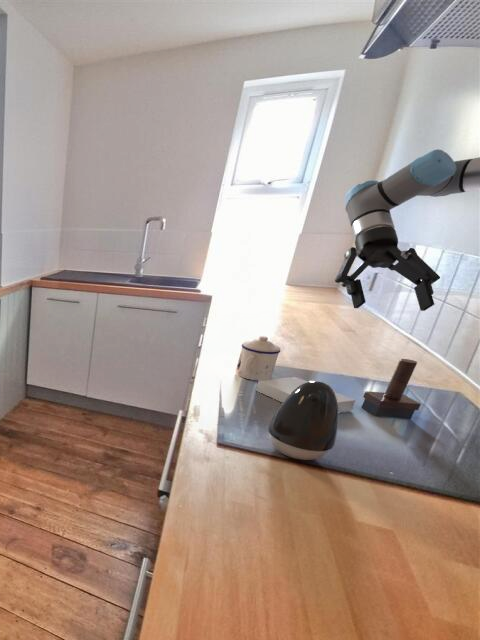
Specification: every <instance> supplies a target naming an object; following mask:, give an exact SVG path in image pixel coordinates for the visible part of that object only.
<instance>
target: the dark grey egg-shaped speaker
mask: <svg viewBox="0 0 480 640" xmlns="http://www.w3.org/2000/svg"><path fill="white" fill-rule="evenodd" d="M334 392H335V391H334V389H333V388H332V387H331V386H330V385H329V384H327V383H326V382H323V381H319V380H309V381H308V382H305V383H303V384H301V385H300V386H298V387H297V388H296V389H295V390H293V391H292V392H291V393H290V394H289V396H288V397H287V398H286V399H285V401H284V402H283V403H280V406H279V407H278V408H277V410H276V412H275V414H273V417H272V419H271V420H270V422H269V425H268V429H267V432H268V436H269V441H270V443H271V445H272V447H273V448H274V449H275V450H276V451H277V452H279V453H280V454H282V455H284V456H286V457H288V458H291V459H295V460H300V461H313V460H317V459H320V458H322V457H324V456H325V455H327V453H328V452H329V451H330V450H332V449H333V448H334V447H335V443H336V441H337V436H338V428H339V413H338V402H337V398H336V395H335V393H334Z"/></svg>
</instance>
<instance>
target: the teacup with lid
mask: <svg viewBox="0 0 480 640" xmlns="http://www.w3.org/2000/svg"><path fill="white" fill-rule="evenodd" d="M268 339H269V338H268V337H267V336H265V335H260V336H259V337H258V338H255V339H252V340H247V341H246V340H245V341H244V342H242V344H241V350H240V354H239V357H238V361H237V365H236V369H235V374H236V375H237V376H238V377H239V378H243V379H245V378H246V380H249V379H250V381H254V380H257V381H256V382H259V381H262V380H269V379H270V380H271V379H272V377H273V373H274V369H275V366H276V363H277V360H278V357H279V354H280V353H281V347H280V346H279V345H277V344H275V343H273V342H272V341H270V340H268Z"/></svg>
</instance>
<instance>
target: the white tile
mask: <svg viewBox="0 0 480 640" xmlns="http://www.w3.org/2000/svg"><path fill="white" fill-rule="evenodd" d="M257 382H258V383H257V386H256V389H255V392H256V391H258V392H257V393H259V392H260V393H259V394H261V393H263V394H265V395H267V396H270V397H272V398H274V399H276V400H279V401H280V402H284V401H285V399H286V398H287V397H288V396H289V394H290V393H291V392H292V391H293V390H295V389H296V388H297V387H298V386H300V385H301V384H303V383H305V382H309V381H308V380H305V379H303V378H300V377H297V376H292V377H282V378H273V379H272V378H271V379H270V380H262V381H257ZM334 393H335V395H336V398H337V402H338V412H344V413H348V412H347V411H351V412H352V410H353V408H354V405H355V404H356V399H353V398H351V397H348V396H346V395H343V394H341V393H338V392H336V391H334ZM263 394H262V395H263ZM265 395H264V396H265ZM267 396H266V397H267ZM274 399H273V400H274ZM276 400H275V401H276ZM280 402H279V403H280Z"/></svg>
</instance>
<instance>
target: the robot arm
mask: <svg viewBox="0 0 480 640" xmlns="http://www.w3.org/2000/svg"><path fill="white" fill-rule="evenodd" d="M476 191H477V192H478V191H480V156H479V157H473V158H467V159H460V160H455V161H454V159H453V158H452V157H451V156H450V155H449V153H447V152H445V151H444V150H443V149H438V148H437V149H433V150H431V151H429V152H427V153H426V154H424V155H422V156H419V157H417V158H415V159H414V160H413V161H411V162H410V163H409V164H407V165H405V166H404V167H402V168H400V169H399V170H397V171H395V172H394V173H393V174H390V175H389V176H387V177H386V178H384V179H382V180H381V181H378V180H366V181H364V182H363V183H358V184H356V185H354V186H353V187H352V188H350V189H349V190H348V191H347V193H346V194H345V196H344V204H345V212H346V213H347V217H348V220H349V224H350V229H351V233H352V237H353V241H354V246H355V247H353V246H352V247H351V246H350V248H349V249H347V250H346V252H344V254H343V258H344V259H343V261H342V265H341V267H340V268H339V271H338V273H337V275H336V277H335V279H334V282H335V283H336V284H340V283H341V284H340V285H341V287H342V288H346V293H347V295H348V296H350V297H351V301H352V306H353V309H360V307H362V306H363V305H364V304H365V303H366V302H367V301H366V297H365V293H364V289H363V286H362V281H361V279H359V278H358V277H359V276H360V275H361V274H362V273H363V272H364V271H365V270H366V269H367V268H368V267H371V269H376V268H381V269H388V270H390V271H395V272H396V273H398V274H400V275H401V277H404V278H405V279H407V281H409V282H411V283H413V284H414V285H415V286H414V287H413V290H414V292H415V296H416V299H417V303H418V306H419V310H420V311H421V312H424V311H427V310H428V309H430V308H431V307H433V306H435V304H436V303H435V301H434V297H433V295H434V289H433V284H434V283H436V282H437V281H439V280H440V279H441V276H440V275H439V274H438V273H437V272H436V271H435V270H434V269H433V268H432V267H431V266H430V265H429V264H427V262H426V261H424V260H423V259H422V257H420V256H419V255H418V253H417V251H416V249H415V248H414V247H410V248H408V249H406V250H401V249H400V248H399V246H398V245H399V238H398V234H397V231H396V229H395V224H394V220H393V218H392V214H391V210H392V209H394V208H396V207H398V206H400V205H402V204H404V203H405V202H408V201H410V200H411V199H413V198H415V197H417V196H419V197H420V196H422V197H423V196H424V197H426V196H429V197H433V198H434V197H435V198H437V197H445V196H449V195H455V194H462V193H469V192H476ZM356 258H358V259H360V261H362V263H361V264H360V265H358V267H357V268H356V269H355V270H353V272H352V273H351V274H350V275H348V274H349V272H350V270H351V268H352V266H353V264H354V262H355V260H356ZM396 261H398V262H397V263H396ZM357 278H358V279H357Z"/></svg>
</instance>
